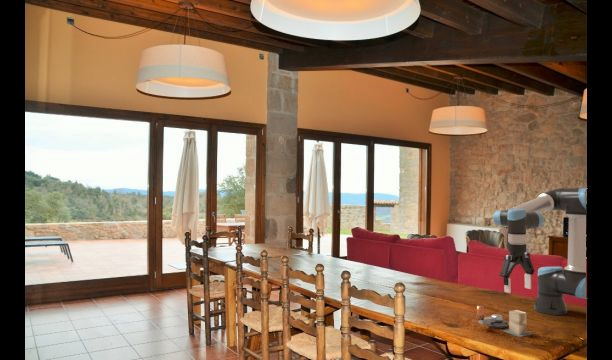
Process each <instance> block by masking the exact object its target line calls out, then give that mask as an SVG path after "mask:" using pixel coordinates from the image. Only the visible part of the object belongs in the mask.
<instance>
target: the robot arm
mask: <svg viewBox="0 0 612 360" xmlns="http://www.w3.org/2000/svg"><path fill="white" fill-rule="evenodd" d="M586 189H587V188H584V187H581V188H580V187H578V188H576V187H569V188H568V187H566V188H565V187H561V188H554V189H551V190H547V191H546V192H543V193H541V194H539V195H537V197H535V198H533V199H531V200H528V201H526V202H523V203H520V204H519V205H515V206H513V207H511V208H508V209H504V210H503V209H501V210H500V209H499V210H498V209H497V210H496V211H495V212H494V213H493V215H492V219H493V222H494V224H495V226H501V227H507V242H508V243H507V251H508V252H509V254H504V257H503V259H504V260H503V263H502V266H501V270H500V272H499V276H500V277H501V278H503V286H504V287H503V289H504V293H507V294H511V291H512V290H511V285H512V284H511V274H512V273H513V270H514V268H515V267H516V266H518V265H520V267H521V268H522V269H523V271H524V272H525V273H524V289H529V290H532V275H534V273H535V271H536V270H535V268H534V265H533V262H532V259H531V255H530V254H531V253H530V252H527V250H528V249H527V244H526V243H527V230H530V229H532V230H533V229H539V228H541V227H542V226H544V223H545V217H544V215H543V214H542V213H543V212H546V213H547V212H550V211H565V216H566V217H568V239H567V265H566V266H565V267H562V266H542V267H539V268H538V270H537V296H536V299H535V302H534V308H533V310H535V311H536V312H538V313H541V314H546V315H551V316H552V315H556V316H563V315H567V313H568V308H567V305H566V302H565V299H564V295H567V296H571V297H576V298H577V299H579V298H580V299H585V300H586V299H587V298H586Z"/></svg>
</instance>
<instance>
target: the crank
mask: <svg viewBox="0 0 612 360" xmlns="http://www.w3.org/2000/svg"><path fill="white" fill-rule="evenodd" d="M476 320H477V322H478V324H480V325H487V324H488V323H493V322H503V320H504V316H503V315H502V314H498V313H493V314H491V316H485V306H483V305H477V306H476Z"/></svg>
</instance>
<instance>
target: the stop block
mask: <svg viewBox="0 0 612 360" xmlns="http://www.w3.org/2000/svg"><path fill="white" fill-rule="evenodd" d="M508 329H509V331H510V332H513V333H516V334H518V335H519V334H524V333H526V331H527V312H525V311H521V310H518V309H515V310H509V311H508Z"/></svg>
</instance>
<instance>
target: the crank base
mask: <svg viewBox="0 0 612 360" xmlns="http://www.w3.org/2000/svg"><path fill="white" fill-rule="evenodd" d="M486 325H487V327H489V328H492V329H498V330H506V329H508V328H509V321H507V320H505V319H503V322H493V323H488V324H486Z"/></svg>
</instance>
